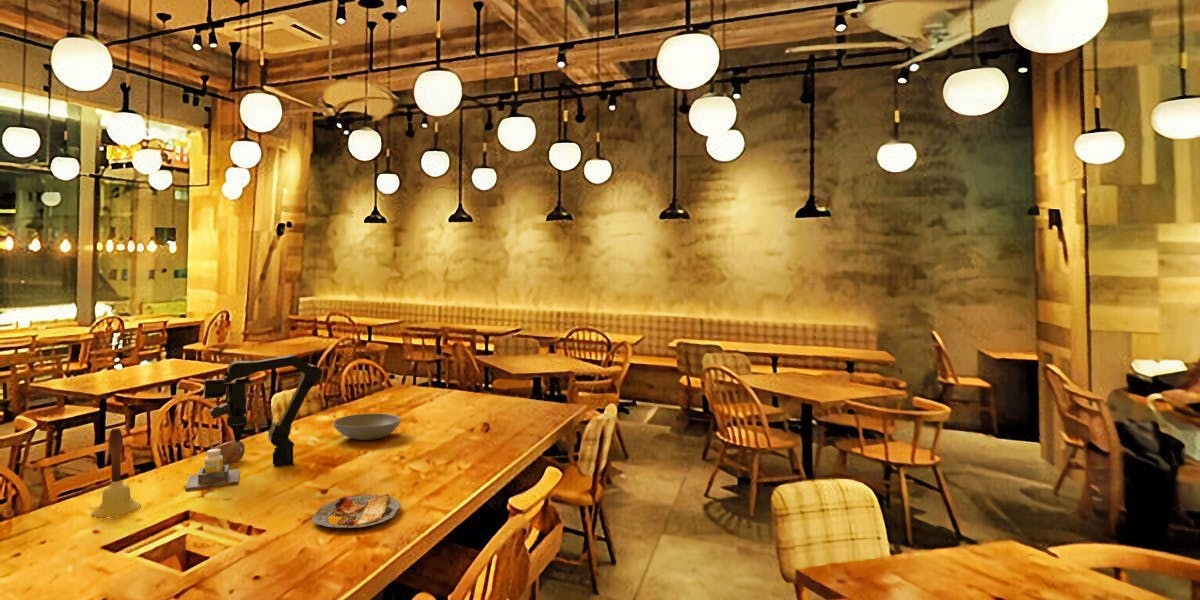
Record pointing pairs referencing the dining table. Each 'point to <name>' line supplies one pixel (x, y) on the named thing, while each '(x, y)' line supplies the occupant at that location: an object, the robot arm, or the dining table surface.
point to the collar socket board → (213, 479)
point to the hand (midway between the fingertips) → (237, 438)
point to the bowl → (367, 425)
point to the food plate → (358, 510)
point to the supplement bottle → (213, 461)
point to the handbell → (116, 485)
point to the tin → (231, 452)
